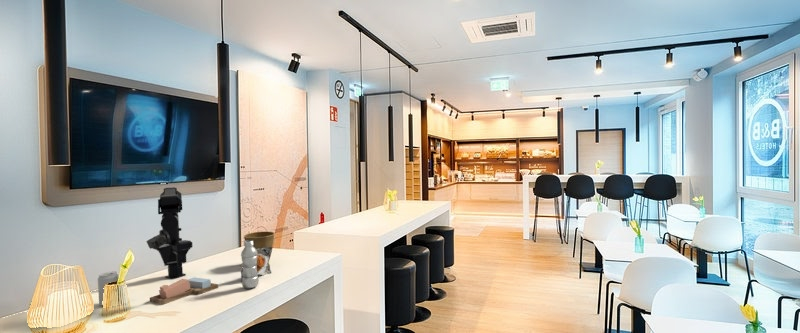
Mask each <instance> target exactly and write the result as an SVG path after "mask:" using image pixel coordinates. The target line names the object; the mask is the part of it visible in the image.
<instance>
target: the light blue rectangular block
mask: <svg viewBox="0 0 800 333" xmlns="http://www.w3.org/2000/svg"><path fill="white" fill-rule="evenodd" d="M187 280H189V283H190V287H193V288H198V289H204V288H206V287H209V286H211V283H212V282H211V279H209V278H203V277H202V278H201V277H195V276H193V277H191V278H188V279H187Z"/></svg>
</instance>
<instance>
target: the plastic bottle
mask: <svg viewBox="0 0 800 333" xmlns="http://www.w3.org/2000/svg"><path fill="white" fill-rule="evenodd" d="M253 245H254V244H253V240H247V241H245V240H244V242H243V246H244V247H243V249H242V251H241V253H240V256H241V264H242V263H243V278H242V281H241V285H242V287H243V289H253V288H256V287H258V285H259V279H260V278H259V276H257V266H256V265H257V254H258V252H257V250H256V249H255V248H254V247H253Z"/></svg>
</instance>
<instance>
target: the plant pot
mask: <svg viewBox="0 0 800 333" xmlns="http://www.w3.org/2000/svg"><path fill="white" fill-rule="evenodd" d="M243 239H244V241H247V240H253V244H254V245H253V247H254V248H255V249H261V248H267V247H272V249H271V250H270V251H271V255H270V257H269V259H268V263H269V264H270V259H271V256H272V252H273V248H274V242H275V232H273V231H255V232H249V233H246V234H244V235H243Z"/></svg>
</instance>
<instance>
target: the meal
mask: <svg viewBox="0 0 800 333" xmlns="http://www.w3.org/2000/svg"><path fill="white" fill-rule="evenodd" d="M271 249H272V250H273V248H272V247H267V248H261V249H256V250H257V252H258V254H257V265H256V266H257V276H258V277H260V276H264V275H265V274H272V270H271V265H270V262H269V263H268V259H269V257H270V255H271V256H272V253H271V251H270V250H271ZM270 258H271V257H270ZM240 266H241V267H242V268H240V281H241V282H242V278H243V263H242V262H241V264H240Z"/></svg>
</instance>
